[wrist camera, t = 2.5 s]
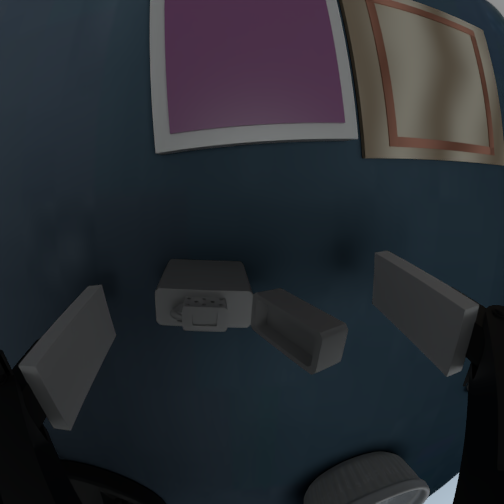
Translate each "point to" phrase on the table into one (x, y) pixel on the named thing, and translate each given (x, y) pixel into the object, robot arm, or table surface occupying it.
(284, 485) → the table surface
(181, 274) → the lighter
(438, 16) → the marked board
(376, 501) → the ramekin
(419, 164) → the table surface
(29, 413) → the robot arm
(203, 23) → the ink pad
